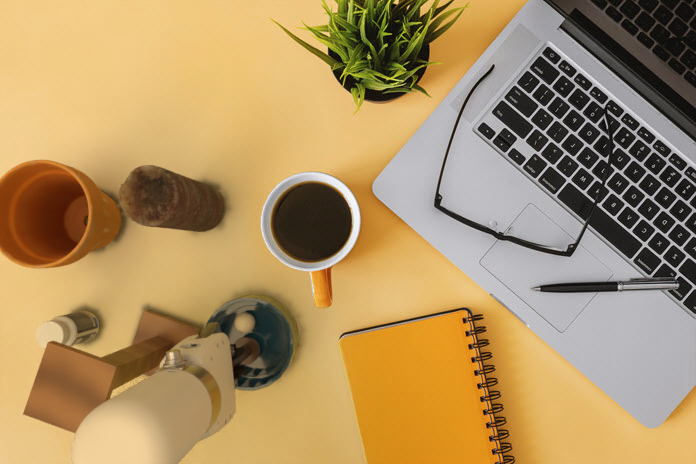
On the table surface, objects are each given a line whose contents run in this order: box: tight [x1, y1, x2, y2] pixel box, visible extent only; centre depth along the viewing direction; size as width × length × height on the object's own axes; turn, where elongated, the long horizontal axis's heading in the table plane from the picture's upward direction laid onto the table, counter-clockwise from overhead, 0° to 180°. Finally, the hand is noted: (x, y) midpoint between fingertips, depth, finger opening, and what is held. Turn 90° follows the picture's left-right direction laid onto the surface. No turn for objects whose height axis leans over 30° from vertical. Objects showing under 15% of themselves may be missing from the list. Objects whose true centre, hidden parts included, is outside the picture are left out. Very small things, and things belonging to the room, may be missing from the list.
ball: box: [235, 312, 255, 333], centre depth 72 cm, size 3×3×3 cm
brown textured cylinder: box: [118, 164, 226, 233], centre depth 65 cm, size 8×7×20 cm
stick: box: [232, 336, 260, 370], centre depth 65 cm, size 4×4×12 cm
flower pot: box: [0, 159, 122, 270], centre depth 69 cm, size 14×14×13 cm
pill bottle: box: [35, 310, 100, 350], centre depth 71 cm, size 5×5×8 cm
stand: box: [22, 309, 202, 434], centre depth 62 cm, size 9×9×24 cm
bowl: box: [204, 294, 300, 392], centre depth 71 cm, size 13×13×6 cm
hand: (234, 360), depth 65 cm, fingers closed on stick
